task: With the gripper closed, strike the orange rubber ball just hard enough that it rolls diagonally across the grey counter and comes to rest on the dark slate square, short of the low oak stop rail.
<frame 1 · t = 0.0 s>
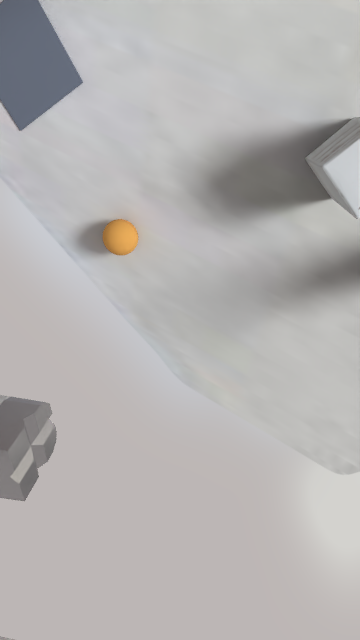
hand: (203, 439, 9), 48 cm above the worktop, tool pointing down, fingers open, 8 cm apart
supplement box: (341, 159, 47), on the worktop
slate square: (23, 62, 47), on the worktop
ball: (120, 237, 54), on the worktop
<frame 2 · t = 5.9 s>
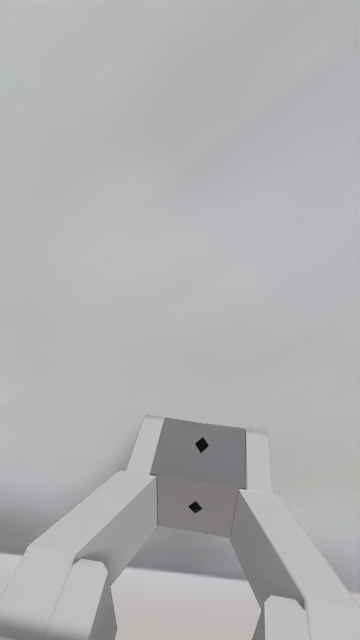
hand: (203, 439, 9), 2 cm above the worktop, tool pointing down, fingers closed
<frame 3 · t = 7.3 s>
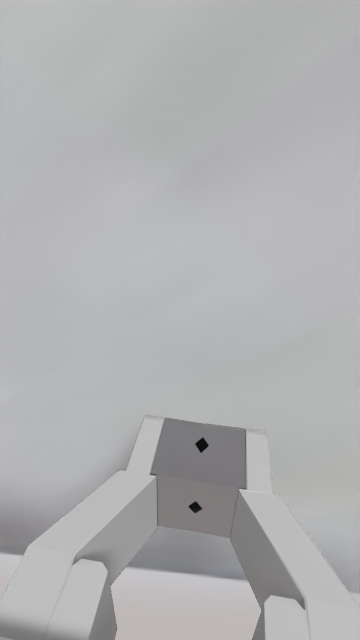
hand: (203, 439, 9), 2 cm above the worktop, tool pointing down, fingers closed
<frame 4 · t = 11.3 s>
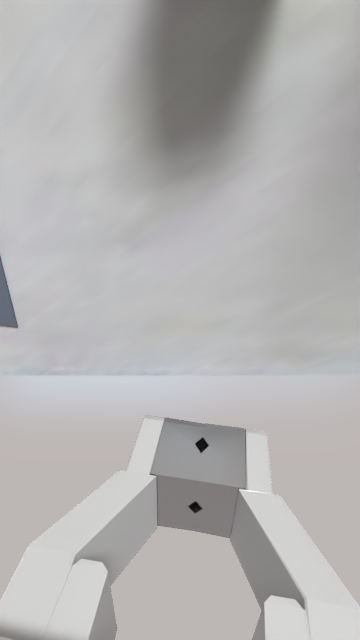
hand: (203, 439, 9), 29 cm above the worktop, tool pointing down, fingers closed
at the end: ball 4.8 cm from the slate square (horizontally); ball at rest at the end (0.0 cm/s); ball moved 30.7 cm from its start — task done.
